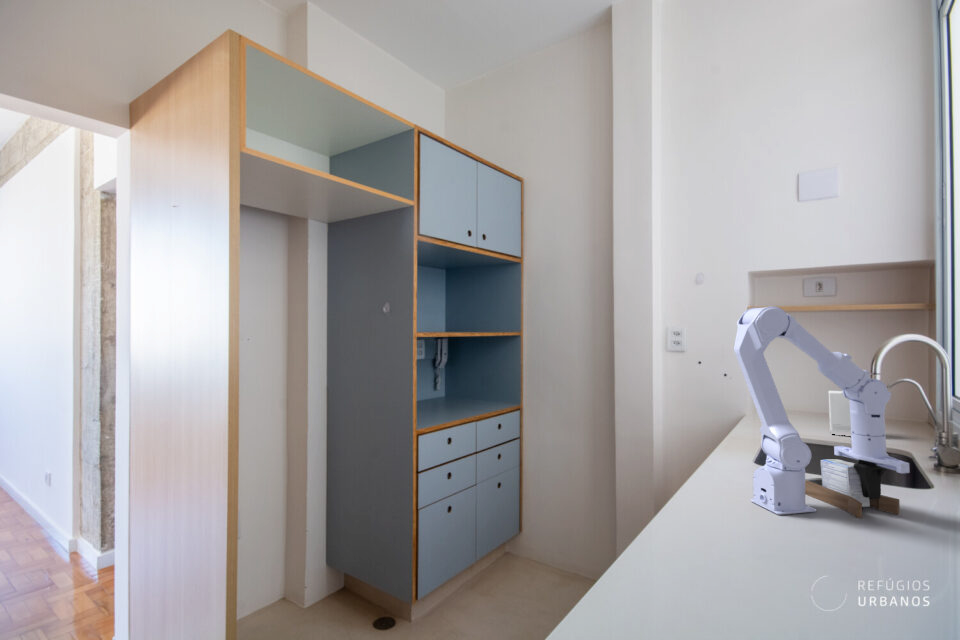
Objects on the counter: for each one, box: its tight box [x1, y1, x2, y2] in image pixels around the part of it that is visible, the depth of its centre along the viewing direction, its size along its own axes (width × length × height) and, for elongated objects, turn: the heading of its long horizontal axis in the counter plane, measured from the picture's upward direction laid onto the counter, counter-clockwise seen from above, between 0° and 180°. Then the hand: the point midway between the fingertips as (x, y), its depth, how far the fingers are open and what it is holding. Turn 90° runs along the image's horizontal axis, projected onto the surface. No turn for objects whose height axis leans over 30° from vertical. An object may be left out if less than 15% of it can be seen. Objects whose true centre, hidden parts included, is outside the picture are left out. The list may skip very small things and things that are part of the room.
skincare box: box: [827, 390, 851, 432], centre depth 168 cm, size 8×7×16 cm
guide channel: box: [805, 477, 901, 519], centre depth 105 cm, size 11×15×3 cm
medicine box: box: [820, 458, 870, 508], centre depth 104 cm, size 8×4×9 cm, turn 2°
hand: (871, 497), depth 100 cm, fingers closed, pressing on medicine box
